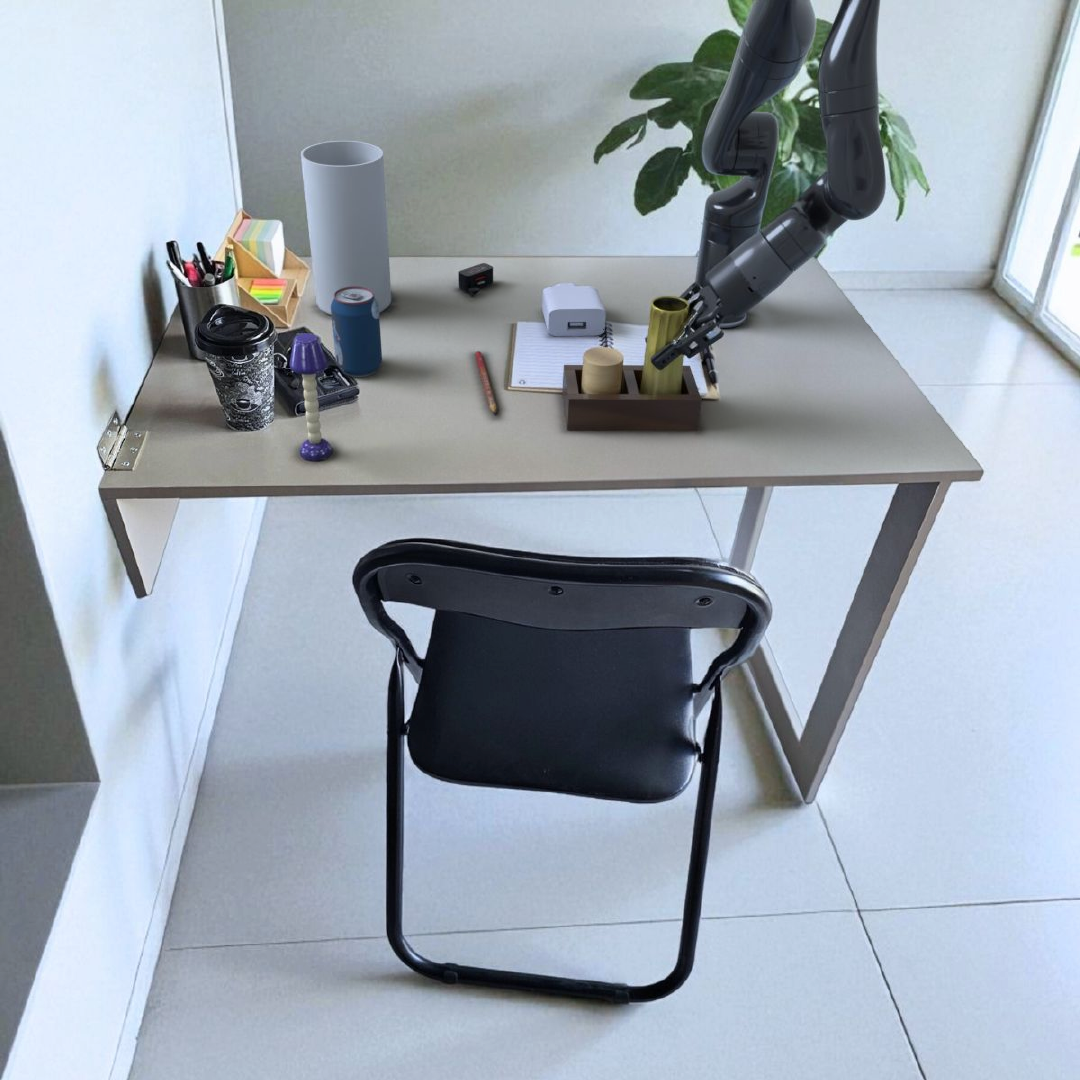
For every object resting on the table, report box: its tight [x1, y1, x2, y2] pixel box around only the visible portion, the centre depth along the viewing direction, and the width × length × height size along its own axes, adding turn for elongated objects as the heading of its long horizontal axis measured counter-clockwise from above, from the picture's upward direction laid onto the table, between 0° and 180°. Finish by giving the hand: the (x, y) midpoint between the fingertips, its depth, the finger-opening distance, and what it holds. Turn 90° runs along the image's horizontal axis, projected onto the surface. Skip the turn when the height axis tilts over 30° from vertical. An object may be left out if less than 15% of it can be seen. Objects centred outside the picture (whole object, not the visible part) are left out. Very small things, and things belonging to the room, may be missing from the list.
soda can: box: [330, 286, 383, 378], centre depth 155 cm, size 7×7×12 cm
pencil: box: [474, 350, 498, 416], centre depth 155 cm, size 19×1×1 cm, turn 10°
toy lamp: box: [289, 333, 333, 462], centre depth 135 cm, size 5×5×17 cm
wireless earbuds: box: [457, 262, 494, 297], centre depth 181 cm, size 5×7×3 cm, turn 134°
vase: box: [639, 295, 690, 395], centre depth 145 cm, size 6×6×14 cm
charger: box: [541, 282, 607, 337], centre depth 174 cm, size 5×9×15 cm
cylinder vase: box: [300, 140, 392, 316], centre depth 168 cm, size 12×12×25 cm
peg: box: [581, 346, 625, 394], centre depth 148 cm, size 6×6×9 cm
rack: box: [561, 364, 703, 432], centre depth 149 cm, size 10×18×5 cm, turn 93°
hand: (652, 354), depth 145 cm, fingers closed on vase, 5 cm apart
